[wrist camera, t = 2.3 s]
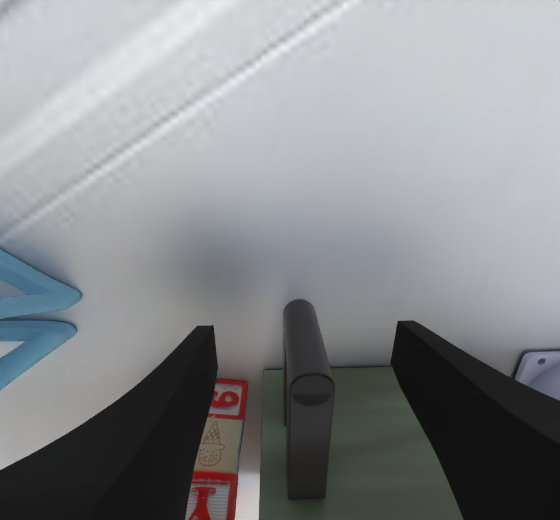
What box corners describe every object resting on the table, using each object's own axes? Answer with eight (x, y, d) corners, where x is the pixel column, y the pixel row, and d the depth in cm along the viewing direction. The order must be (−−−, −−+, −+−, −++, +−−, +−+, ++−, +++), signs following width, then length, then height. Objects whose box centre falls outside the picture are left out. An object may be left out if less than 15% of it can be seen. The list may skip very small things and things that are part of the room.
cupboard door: (260, 276, 17) (246, 455, 7) (508, 271, 17) (811, 434, 8) (263, 378, 20) (257, 604, 10) (477, 372, 20) (667, 584, 10)
